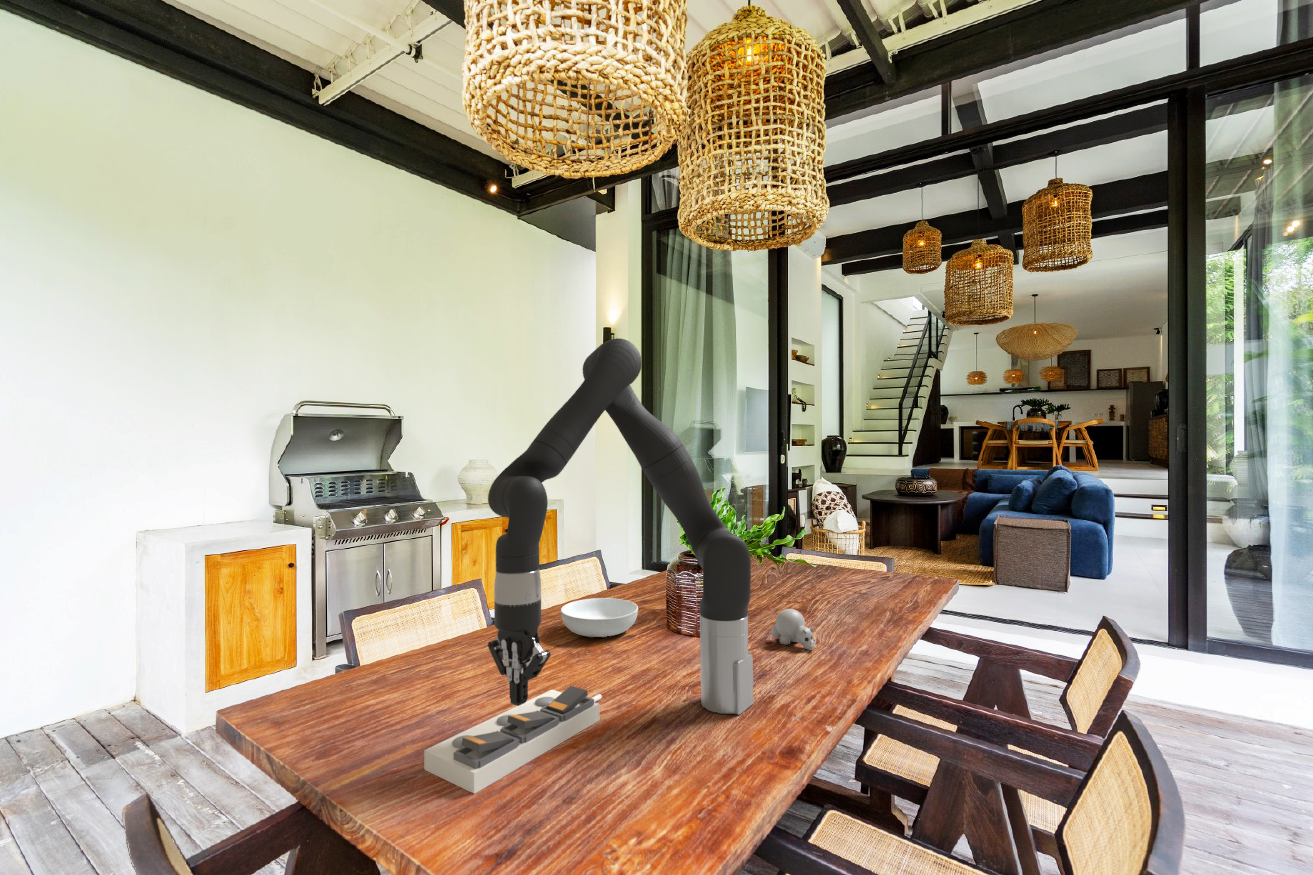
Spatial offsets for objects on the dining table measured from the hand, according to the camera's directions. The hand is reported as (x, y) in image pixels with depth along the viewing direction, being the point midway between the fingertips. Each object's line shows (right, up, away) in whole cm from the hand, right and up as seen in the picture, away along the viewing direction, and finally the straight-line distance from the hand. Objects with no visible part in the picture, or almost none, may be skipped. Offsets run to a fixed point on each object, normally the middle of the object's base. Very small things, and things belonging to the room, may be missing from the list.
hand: (518, 703), depth 98 cm
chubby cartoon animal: (+57, -9, +51) cm, 77 cm away
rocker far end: (-4, -4, -6) cm, 8 cm away
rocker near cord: (+7, -4, +9) cm, 12 cm away
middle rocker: (+2, -4, +2) cm, 4 cm away
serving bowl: (+7, -10, +64) cm, 65 cm away
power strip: (+1, -8, +6) cm, 10 cm away
